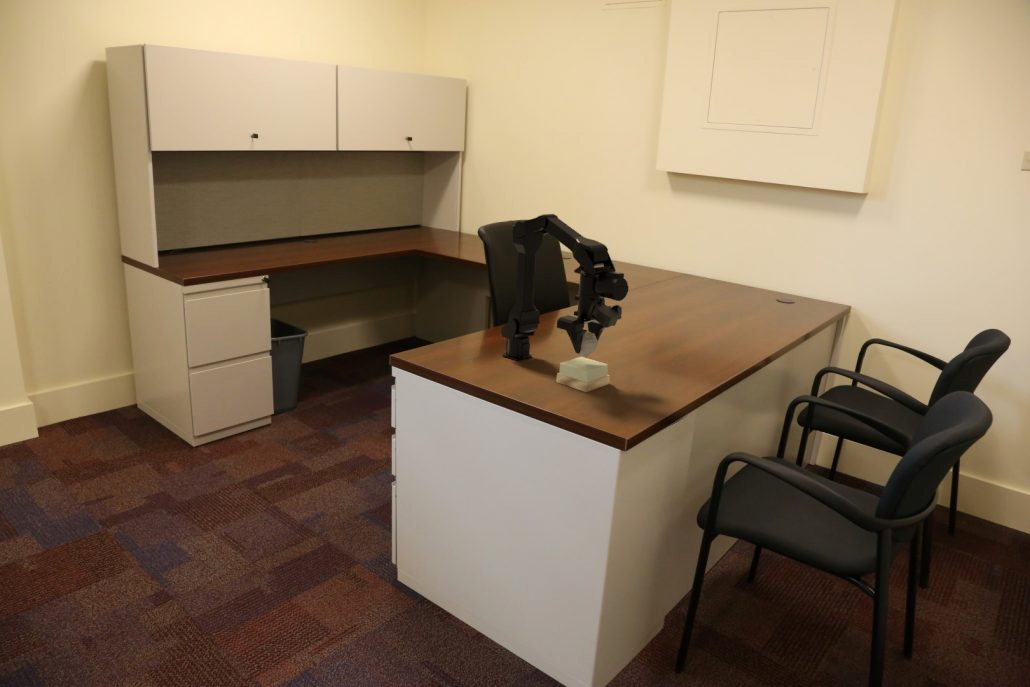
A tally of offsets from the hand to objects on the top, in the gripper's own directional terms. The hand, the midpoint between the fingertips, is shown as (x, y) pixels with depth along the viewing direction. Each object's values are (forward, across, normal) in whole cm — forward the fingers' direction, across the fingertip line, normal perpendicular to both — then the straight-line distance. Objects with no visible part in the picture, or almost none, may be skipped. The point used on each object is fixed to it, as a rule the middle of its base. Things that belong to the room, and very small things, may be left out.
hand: (585, 350), depth 189 cm
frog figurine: (+2, 0, 0) cm, 2 cm away
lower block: (+10, 0, 0) cm, 10 cm away
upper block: (+6, 0, 0) cm, 7 cm away
